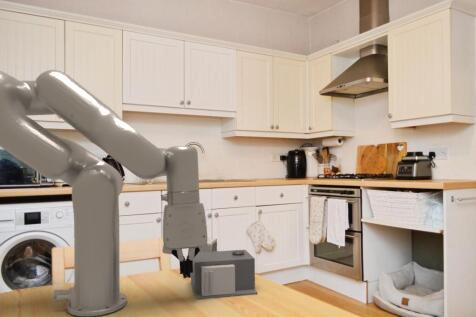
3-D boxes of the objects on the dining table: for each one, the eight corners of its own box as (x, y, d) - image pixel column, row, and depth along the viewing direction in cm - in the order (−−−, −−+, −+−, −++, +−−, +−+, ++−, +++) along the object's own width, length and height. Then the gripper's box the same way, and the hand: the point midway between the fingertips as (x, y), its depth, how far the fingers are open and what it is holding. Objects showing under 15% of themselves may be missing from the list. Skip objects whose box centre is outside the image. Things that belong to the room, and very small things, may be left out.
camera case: (195, 299, 88) (195, 262, 88) (191, 282, 100) (190, 250, 100) (257, 294, 91) (257, 258, 91) (245, 278, 103) (245, 247, 103)
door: (202, 297, 88) (202, 269, 88) (201, 293, 90) (201, 266, 90) (235, 294, 89) (235, 266, 89) (233, 290, 92) (233, 264, 92)
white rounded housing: (211, 278, 103) (211, 242, 103) (187, 277, 105) (187, 241, 105) (217, 272, 109) (217, 238, 109) (194, 271, 111) (194, 237, 111)
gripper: (150, 202, 83) (154, 285, 83) (217, 198, 86) (220, 277, 86) (151, 199, 90) (154, 275, 90) (212, 195, 93) (215, 268, 93)
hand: (186, 276), depth 88 cm, fingers closed
